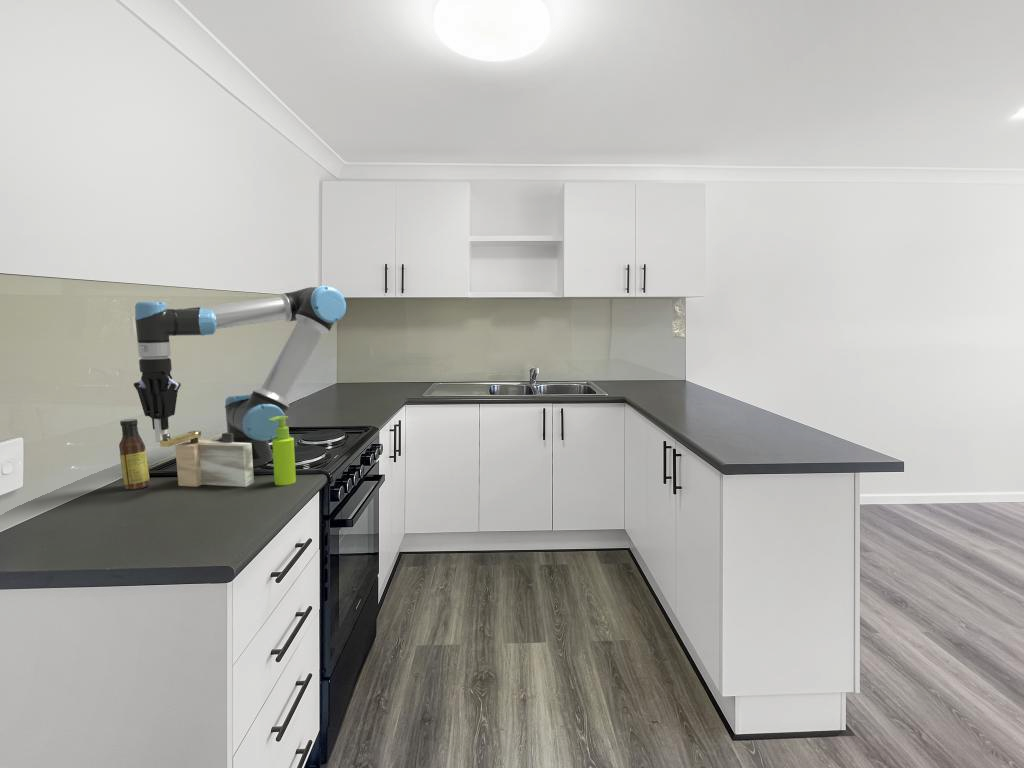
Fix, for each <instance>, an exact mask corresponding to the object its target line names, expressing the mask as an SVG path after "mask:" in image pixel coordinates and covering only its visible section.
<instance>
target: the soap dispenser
mask: <svg viewBox="0 0 1024 768" xmlns="http://www.w3.org/2000/svg"><path fill="white" fill-rule="evenodd" d="M286 419H289V416H287V415H285V416H276V417H273V418H271V419H269V421H276V420H279V426H278V427H277V428H276V435H277V436H276V437H275V438H273V439H271V441H272V442H271V443H272V453H273V461H272V462H273V476H274V477H273V478H274V485H276V486H290V485H292V484H295V483H296V482H297V477H296V476H297V473H296V471H297V470H296V459H295V457H296V456H295V439H294V437H290V430H289V429H290V428H289V426H287V425H286V421H285V420H286Z"/></svg>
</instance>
